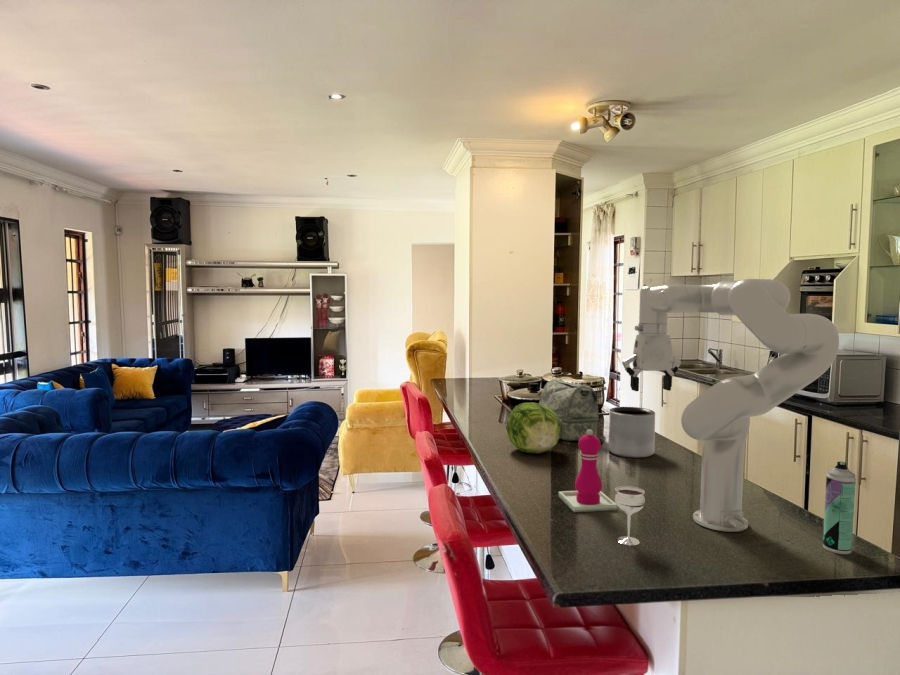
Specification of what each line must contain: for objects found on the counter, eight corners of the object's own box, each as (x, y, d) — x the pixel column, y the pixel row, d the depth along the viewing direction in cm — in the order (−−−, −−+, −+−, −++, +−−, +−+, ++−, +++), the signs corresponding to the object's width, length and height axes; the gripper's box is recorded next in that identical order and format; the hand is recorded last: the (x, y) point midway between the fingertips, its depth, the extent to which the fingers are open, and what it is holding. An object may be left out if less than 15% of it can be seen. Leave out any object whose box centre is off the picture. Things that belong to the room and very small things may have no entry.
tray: (616, 509, 157) (617, 504, 157) (574, 512, 155) (574, 506, 155) (598, 494, 169) (598, 489, 168) (558, 496, 167) (558, 491, 167)
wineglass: (609, 535, 140) (610, 485, 139) (636, 534, 141) (638, 485, 140) (619, 547, 134) (620, 495, 133) (648, 546, 134) (650, 495, 133)
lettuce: (519, 464, 200) (530, 414, 197) (496, 438, 222) (506, 393, 219) (569, 468, 206) (581, 419, 203) (543, 442, 228) (552, 398, 225)
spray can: (840, 543, 136) (845, 458, 135) (857, 554, 131) (862, 465, 129) (817, 544, 136) (821, 459, 135) (833, 554, 131) (838, 466, 129)
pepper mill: (602, 506, 157) (604, 433, 156) (574, 504, 159) (576, 431, 157) (601, 497, 164) (602, 427, 163) (574, 495, 166) (576, 425, 164)
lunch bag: (605, 440, 232) (606, 385, 231) (565, 444, 226) (566, 387, 224) (569, 426, 257) (570, 376, 255) (532, 429, 250) (533, 378, 249)
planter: (616, 459, 205) (617, 415, 204) (602, 447, 221) (603, 406, 220) (661, 459, 206) (662, 415, 205) (644, 447, 222) (645, 406, 221)
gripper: (630, 330, 160) (628, 393, 162) (688, 330, 163) (686, 391, 164) (618, 329, 168) (616, 388, 169) (674, 329, 170) (672, 387, 172)
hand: (650, 390), depth 167 cm, fingers open, 9 cm apart
